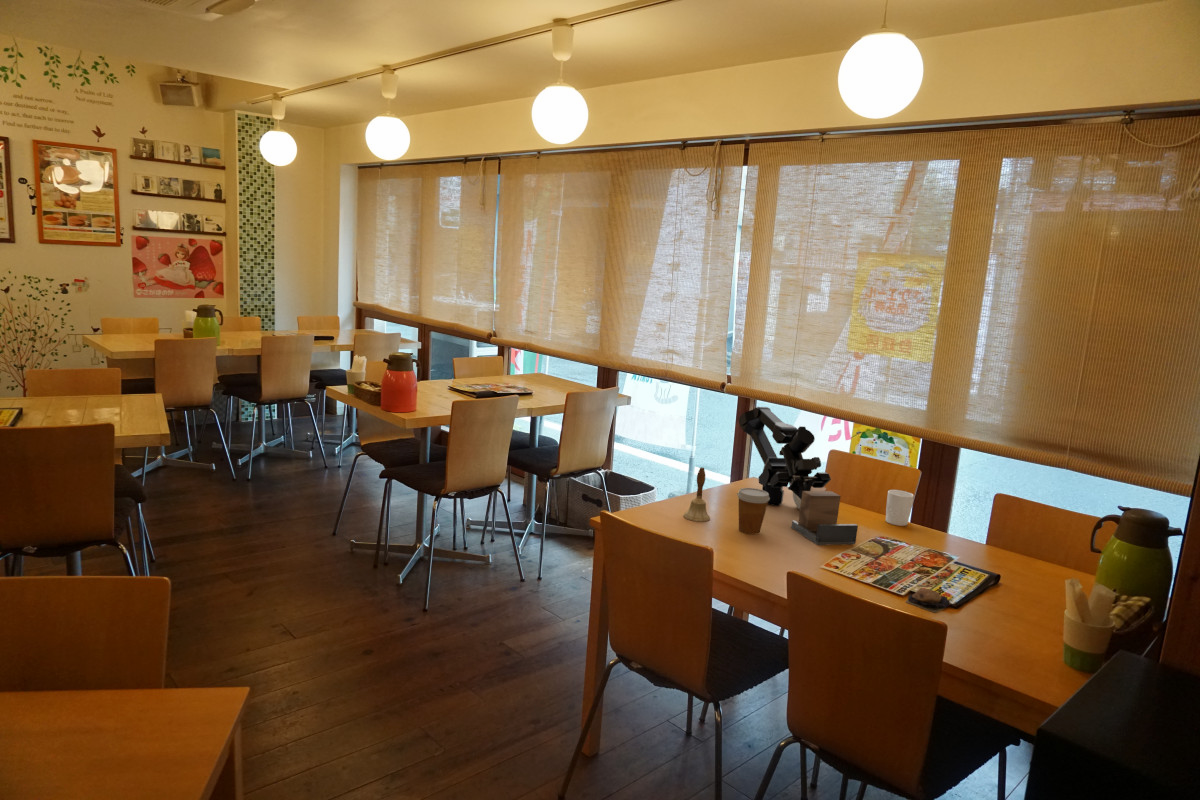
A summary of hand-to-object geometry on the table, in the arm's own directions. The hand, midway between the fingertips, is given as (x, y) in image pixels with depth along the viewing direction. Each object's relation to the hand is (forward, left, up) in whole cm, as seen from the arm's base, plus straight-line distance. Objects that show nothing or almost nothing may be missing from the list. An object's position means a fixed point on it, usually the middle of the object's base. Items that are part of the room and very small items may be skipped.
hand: (807, 503), depth 238 cm
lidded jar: (-2, +18, -7) cm, 20 cm away
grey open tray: (+6, -8, -7) cm, 12 cm away
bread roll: (+37, -43, -7) cm, 57 cm away
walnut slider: (+4, -5, -6) cm, 9 cm away
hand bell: (-30, -16, -7) cm, 35 cm away
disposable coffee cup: (-13, -18, -7) cm, 23 cm away
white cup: (+26, +23, -7) cm, 35 cm away
